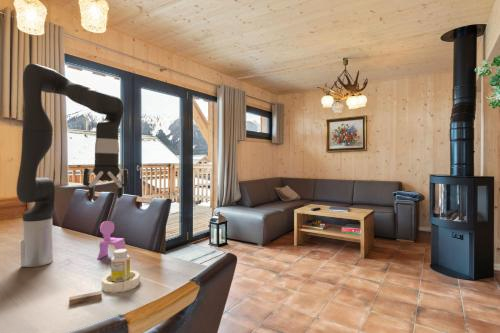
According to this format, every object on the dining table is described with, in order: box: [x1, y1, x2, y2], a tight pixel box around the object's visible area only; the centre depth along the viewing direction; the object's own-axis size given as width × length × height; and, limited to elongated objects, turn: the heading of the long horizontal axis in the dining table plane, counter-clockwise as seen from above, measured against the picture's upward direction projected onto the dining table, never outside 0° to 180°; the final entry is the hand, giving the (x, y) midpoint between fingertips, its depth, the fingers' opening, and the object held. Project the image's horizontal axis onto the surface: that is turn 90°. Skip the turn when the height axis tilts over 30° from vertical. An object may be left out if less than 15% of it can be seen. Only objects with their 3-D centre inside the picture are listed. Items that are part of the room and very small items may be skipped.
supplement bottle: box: [110, 248, 131, 283], centre depth 94 cm, size 6×6×10 cm
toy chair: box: [96, 220, 126, 260], centre depth 120 cm, size 8×9×15 cm
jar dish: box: [101, 269, 141, 294], centre depth 94 cm, size 11×11×3 cm
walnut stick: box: [68, 290, 103, 307], centre depth 83 cm, size 8×2×2 cm, turn 119°
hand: (106, 197), depth 103 cm, fingers open, 8 cm apart
